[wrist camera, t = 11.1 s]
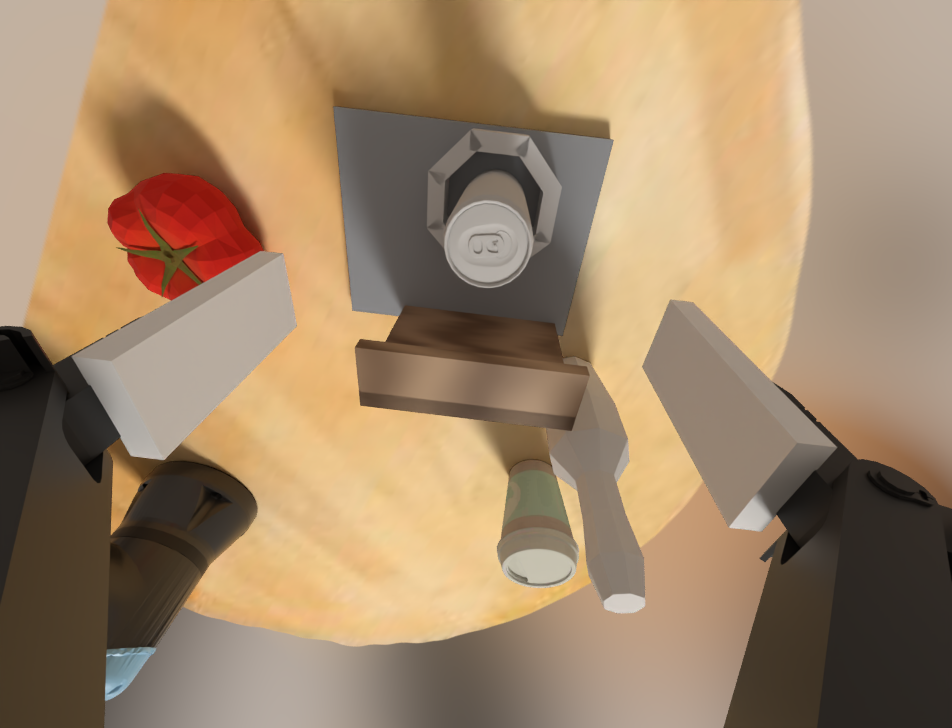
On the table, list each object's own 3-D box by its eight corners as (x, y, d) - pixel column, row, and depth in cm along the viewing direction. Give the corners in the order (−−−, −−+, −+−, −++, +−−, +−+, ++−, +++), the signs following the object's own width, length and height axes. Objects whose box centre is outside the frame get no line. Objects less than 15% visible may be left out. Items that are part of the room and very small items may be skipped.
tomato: (217, 151, 30) (153, 159, 24) (299, 276, 35) (262, 306, 30) (131, 197, 32) (55, 214, 27) (220, 307, 38) (172, 340, 32)
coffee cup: (509, 445, 45) (510, 538, 35) (576, 460, 46) (596, 556, 36) (491, 488, 50) (487, 581, 40) (552, 502, 51) (563, 596, 41)
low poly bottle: (592, 401, 41) (661, 634, 23) (534, 395, 41) (556, 622, 23) (608, 352, 37) (705, 581, 19) (544, 345, 37) (580, 567, 19)
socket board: (355, 306, 36) (342, 322, 33) (338, 106, 27) (318, 105, 25) (561, 330, 36) (565, 349, 33) (610, 138, 27) (622, 142, 25)
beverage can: (524, 232, 30) (533, 289, 20) (465, 235, 31) (446, 292, 21) (525, 165, 28) (535, 193, 18) (460, 169, 28) (435, 199, 18)
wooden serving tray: (407, 312, 36) (360, 405, 25) (407, 267, 34) (354, 347, 22) (551, 329, 36) (571, 431, 25) (561, 285, 34) (589, 375, 22)
